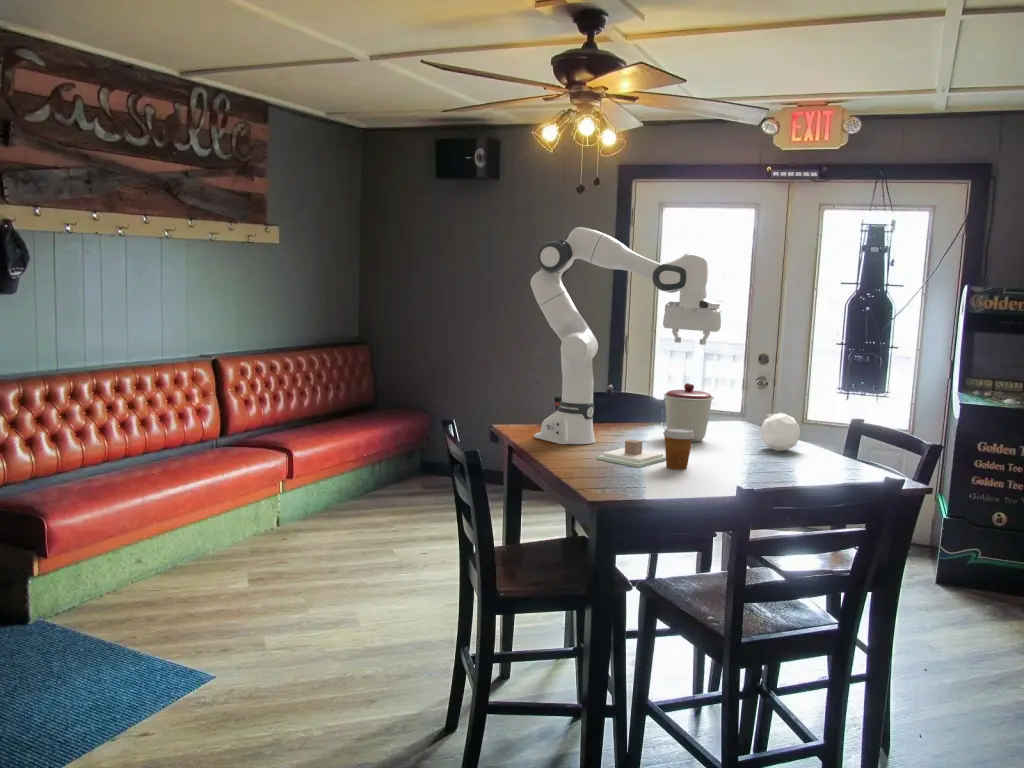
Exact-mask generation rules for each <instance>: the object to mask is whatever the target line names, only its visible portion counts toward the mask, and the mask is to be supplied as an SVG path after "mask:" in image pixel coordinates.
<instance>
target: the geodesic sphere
mask: <svg viewBox="0 0 1024 768" xmlns="http://www.w3.org/2000/svg"><path fill="white" fill-rule="evenodd" d="M766 417H767V418H765V419H764V420H763V422H762V426H761V427H760V436H761V440H762V441H763V442H764V444H765V446H766V447H767V448H769V449H771V450H773V451H776V452H781V451H782V452H784V450H785V451H789V450H790V449H792V448H794V447H795V446H796V445H797V444H798V441H799V440H800V439H799V438H800V436H801V431H800V425H799V424H798V423H797V421H796V419H795V418H794V417H793V416H790V415H788V413H787V414H786V413H784V412H782V411H779V412H778V413H767V415H766Z"/></svg>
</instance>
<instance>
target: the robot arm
mask: <svg viewBox="0 0 1024 768" xmlns="http://www.w3.org/2000/svg"><path fill="white" fill-rule="evenodd" d="M536 254H537V255H536V259H537V263H538V265H539V266H540V270H539V271H537V272H536V273H535V274H533V275H532V277H531V279H530V286H531V287H530V288H531V289H532V293H533V296H534V298H535V300H536V302H537V305H538V306H539V309H540V311H542V313H543V315H544V317H545V320H546V321H547V324H549V325H548V326H550V328H551V329H552V330H553V331H554V333H555V334H556V335H557V337H558V338H559V339H560V341H561V345H560V363H561V365H560V366H561V376H562V386H561V387H562V388H561V400H560V401H558V402H555V403H554V404H555V405H554V406H555V407H557V409H556V411H555V412H553V413H552V414H550V415H549V416H548V417H547V418H544V420H543V421H542V423H541V425H540V427H541V428H540V432H536V433H534V435H533V438H536V439H539V440H543V441H547V442H551V443H555V444H558V445H588V444H594V443H596V438H595V433H594V423H593V422H594V421H593V420H594V419H593V417H594V412H595V411H594V410H595V405H594V404H595V403H594V385H595V383H594V382H595V379H594V373H593V371H594V370H593V368H594V367H593V358H594V357H595V356H596V354H597V353H598V350H599V344H598V340H597V338H596V336H595V334H594V333H593V332H592V329H590V327H589V325H588V323H587V322H586V321H585V319H584V318H583V317H582V315H581V314H580V312H579V310H578V309H577V308H576V305H575V304H574V302H573V300H572V298H571V296H570V295H569V292H568V291H567V288H566V287H565V286H564V283H563V281H562V278H563V277H564V276H565V275H566V273H568V271H570V269H572V268H573V266H574V265H575V261H576V260H582V261H585V262H587V263H590V264H592V265H594V266H598V267H601V268H605V269H609V270H610V269H611V270H619V271H620V270H622V271H627V272H632V273H634V274H637V275H640V276H641V277H644V278H647V279H648V280H651V281H652V282H653V285H654V286H655V287H656V288H657V289H658V290H659V291H661V292H666V293H670V294H671V293H672V294H673V293H676V292H679V299H678V300H679V301H668V302H667V303H666V304H665V305H664V315H663V319H662V325H663V328H665V329H671V330H672V331H671V333H672V335H673V337H674V343H677V344H678V343H679V344H680V343H681V342H682V337H681V336H679V332H680V330H684V331H685V330H686V331H700V332H702V334H703V337H702V338H700V339H699V345H702V346H705V345H706V344H707V339H708V338H709V336H710V335H711V332H712V333H713V332H714V333H715V332H717V333H718V332H719V331H720V329H721V328H722V326H721V325H722V324H721V323H722V320H721V319H722V317H721V311H720V310H719V309H720V306H721V305H720V303H719V302H717V301H716V300H712V299H710V298H708V297H707V289H706V287H707V283H708V276H709V275H708V261H707V259H706V258H704V257H703V256H702V255H698V254H692V253H685V254H684V255H682V256H681V257H679V258H676V259H675V260H671V261H669V262H666V263H660V262H657V261H655V260H652V259H650V258H647V257H644V256H642V255H640V254H638V253H636V252H635V251H633V250H631V249H630V248H628V247H627V246H626V245H625V244H624V243H622V242H621V241H619V240H617V239H616V238H614V237H613V236H611V235H608V234H606V233H603V232H601V231H598V230H596V229H592V228H588V227H582V226H577V227H575V228H573V230H571V231H570V233H569V234H568V237H567V239H558V240H557V239H556V240H551V241H550V240H549V241H547V242H545V243H543V244H542V245H541V246H540V248H539V249H538V251H537V253H536Z"/></svg>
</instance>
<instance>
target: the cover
mask: <svg viewBox="0 0 1024 768" xmlns="http://www.w3.org/2000/svg"><path fill="white" fill-rule="evenodd" d="M602 455H603V456H607V457H612V458H617V459H622V460H628V461H633V462H638V463H642V462H645V461H649V460H653V459H657V458H661V457H663V456H664V454H663V453H660V452H654V451H648V450H645V449H643V440H636V439H628V440H625V441H624V447H622V448H617V449H614V450H608V451H605V452H603V453H602Z"/></svg>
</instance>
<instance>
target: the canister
mask: <svg viewBox="0 0 1024 768" xmlns="http://www.w3.org/2000/svg"><path fill="white" fill-rule="evenodd" d="M694 389H695V385H694V384H693V383H691V382H688V383H685V384H684V386H683V389H671V390H668V391H666V392H665V393H663V397H664V398H665V399H664V400H665V401H664V402H665V420H666V428H686V429H690V430H693V434H694V436H693V438H692V443H697V442H701V441H703V440H704V438H705V436H706V434H707V428H708V422H709V418H710V411H711V407H712V401H713V400H714V396H713V395H711V394H710V393H708V392H705V391H701V390H694Z"/></svg>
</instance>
